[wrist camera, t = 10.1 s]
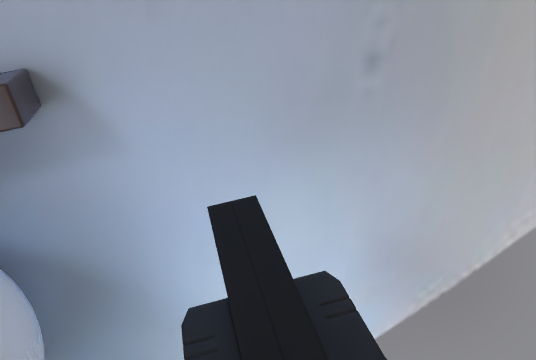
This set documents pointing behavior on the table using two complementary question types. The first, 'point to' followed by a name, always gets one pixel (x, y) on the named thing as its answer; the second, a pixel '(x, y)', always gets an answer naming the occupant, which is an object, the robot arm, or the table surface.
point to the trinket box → (18, 324)
